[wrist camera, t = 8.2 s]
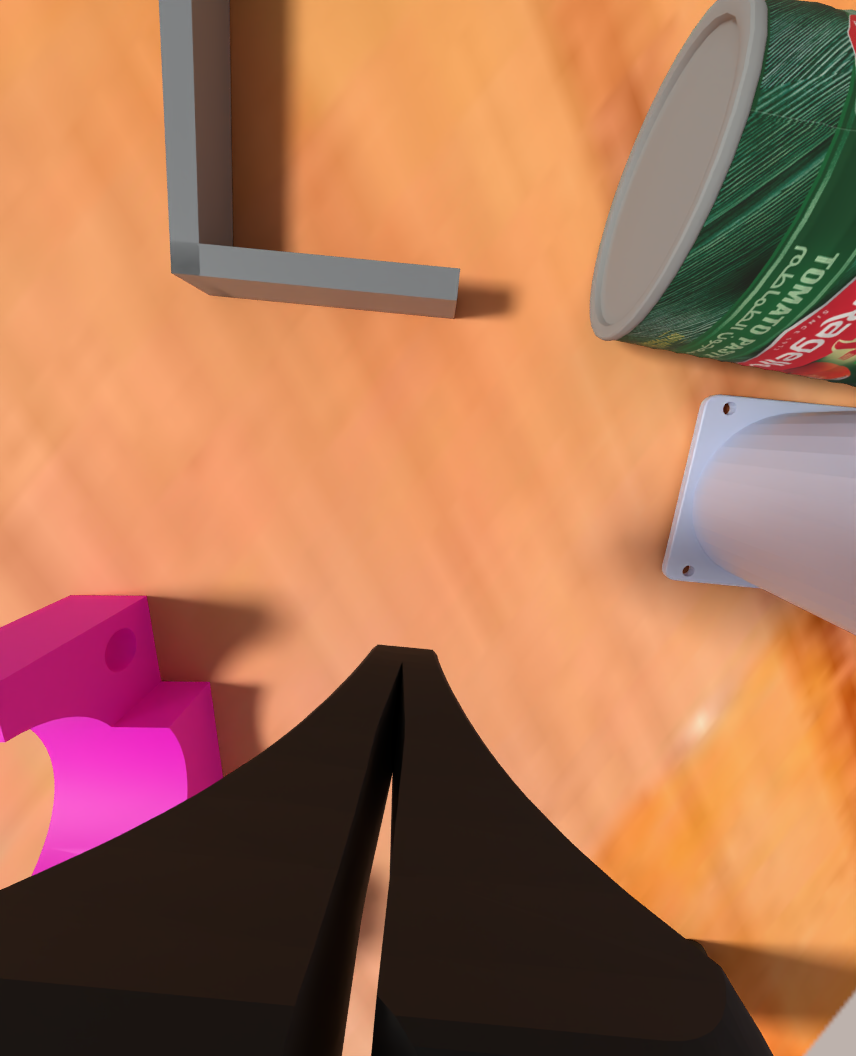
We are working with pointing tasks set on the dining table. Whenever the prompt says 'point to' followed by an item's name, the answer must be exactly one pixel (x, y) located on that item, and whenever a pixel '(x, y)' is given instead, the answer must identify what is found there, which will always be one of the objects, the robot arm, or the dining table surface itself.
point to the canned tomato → (743, 198)
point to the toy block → (104, 718)
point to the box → (206, 193)
